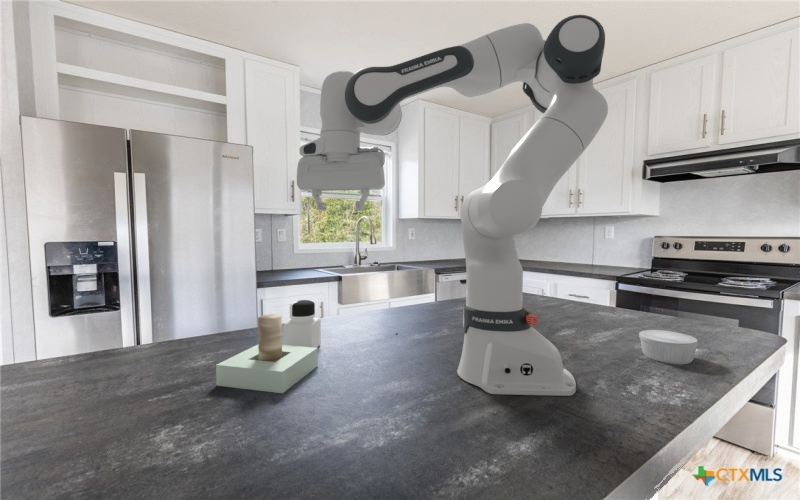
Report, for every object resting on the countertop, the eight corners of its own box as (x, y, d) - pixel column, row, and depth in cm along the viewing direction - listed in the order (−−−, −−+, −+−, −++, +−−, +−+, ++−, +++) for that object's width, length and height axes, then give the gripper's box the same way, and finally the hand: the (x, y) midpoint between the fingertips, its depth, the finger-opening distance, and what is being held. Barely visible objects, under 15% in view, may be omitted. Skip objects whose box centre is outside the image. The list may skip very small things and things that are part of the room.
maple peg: (286, 372, 76) (285, 315, 76) (274, 380, 72) (273, 320, 71) (267, 370, 77) (266, 313, 77) (254, 378, 73) (253, 318, 72)
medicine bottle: (321, 344, 95) (320, 298, 94) (311, 353, 88) (311, 304, 87) (294, 343, 95) (293, 298, 95) (283, 352, 88) (282, 303, 88)
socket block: (317, 365, 80) (317, 347, 79) (282, 393, 66) (282, 371, 66) (260, 360, 83) (260, 343, 83) (216, 385, 69) (216, 364, 69)
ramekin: (644, 362, 83) (645, 339, 83) (633, 348, 93) (634, 327, 93) (705, 369, 79) (706, 345, 78) (687, 353, 89) (688, 332, 89)
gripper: (388, 149, 83) (388, 210, 84) (306, 153, 88) (306, 211, 89) (380, 142, 77) (380, 208, 78) (292, 147, 82) (293, 209, 82)
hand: (340, 210), depth 83 cm, fingers open, 8 cm apart
